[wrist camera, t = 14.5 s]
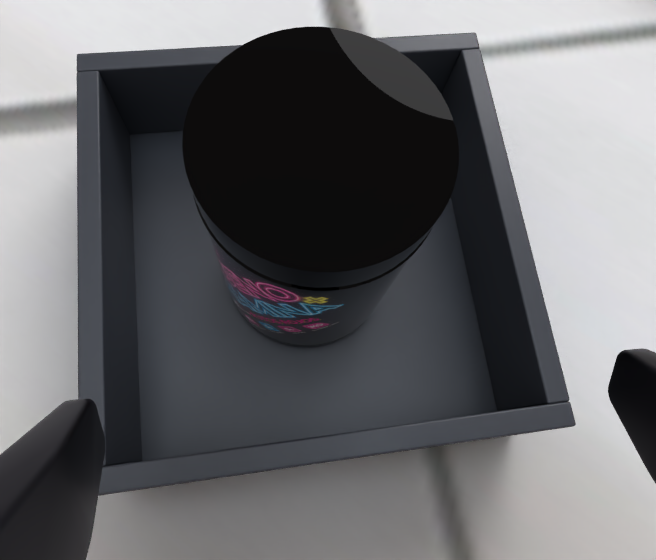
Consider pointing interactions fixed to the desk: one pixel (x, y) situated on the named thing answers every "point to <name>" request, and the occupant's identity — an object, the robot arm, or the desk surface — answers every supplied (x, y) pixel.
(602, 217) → the desk surface
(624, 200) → the desk surface
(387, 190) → the supplement container
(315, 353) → the square tray
